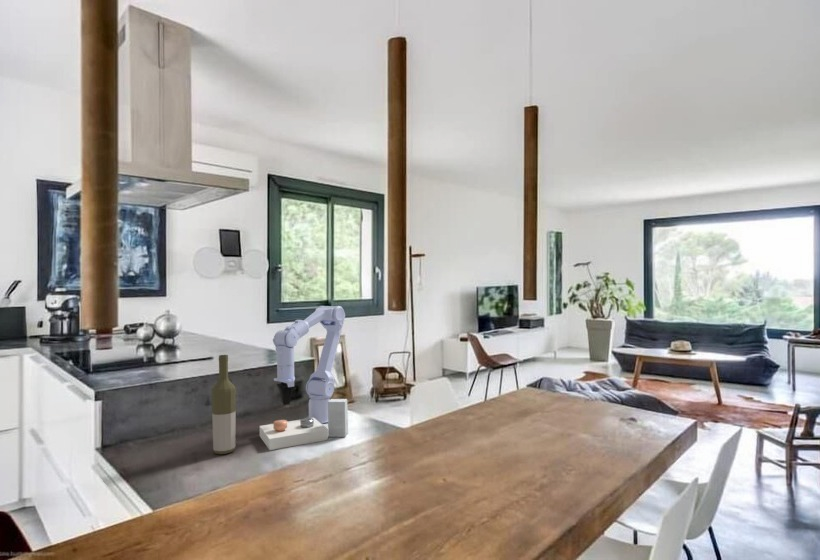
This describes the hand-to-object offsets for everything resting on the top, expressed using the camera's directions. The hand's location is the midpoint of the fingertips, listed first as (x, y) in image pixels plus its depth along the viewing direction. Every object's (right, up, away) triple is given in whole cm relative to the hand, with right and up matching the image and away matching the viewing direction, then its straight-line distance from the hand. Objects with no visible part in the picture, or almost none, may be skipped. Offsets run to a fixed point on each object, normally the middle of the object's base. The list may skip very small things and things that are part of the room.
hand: (286, 404), depth 160 cm
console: (+3, -10, -4) cm, 12 cm away
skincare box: (+18, -10, -2) cm, 21 cm away
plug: (+8, -10, -3) cm, 13 cm away
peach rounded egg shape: (0, -9, -7) cm, 12 cm away
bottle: (-15, -11, -16) cm, 25 cm away
